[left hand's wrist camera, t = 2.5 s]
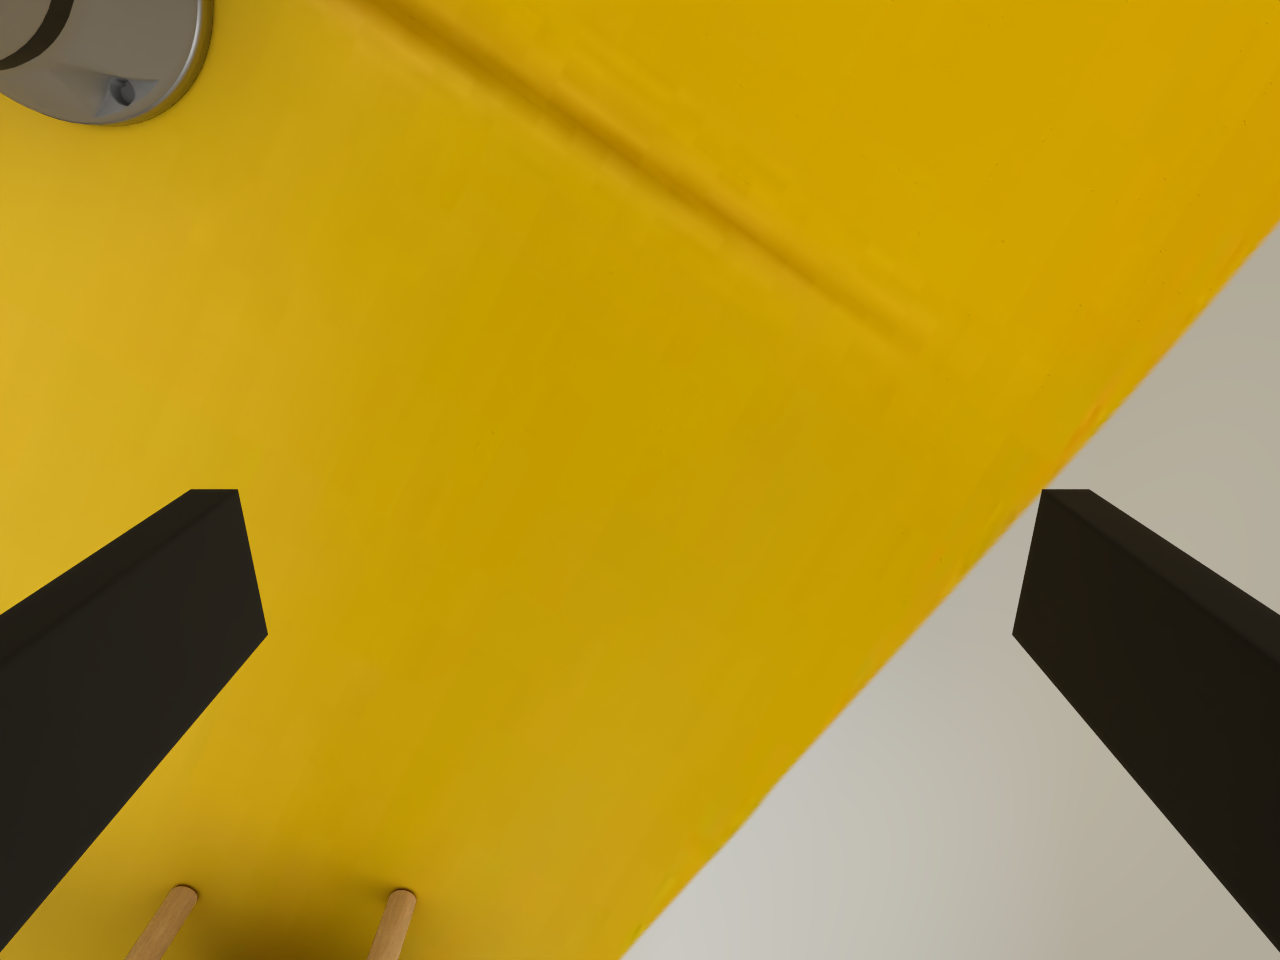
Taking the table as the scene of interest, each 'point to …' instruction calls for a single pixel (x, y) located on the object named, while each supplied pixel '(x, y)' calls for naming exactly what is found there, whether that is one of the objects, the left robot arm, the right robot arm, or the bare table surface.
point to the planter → (183, 899)
